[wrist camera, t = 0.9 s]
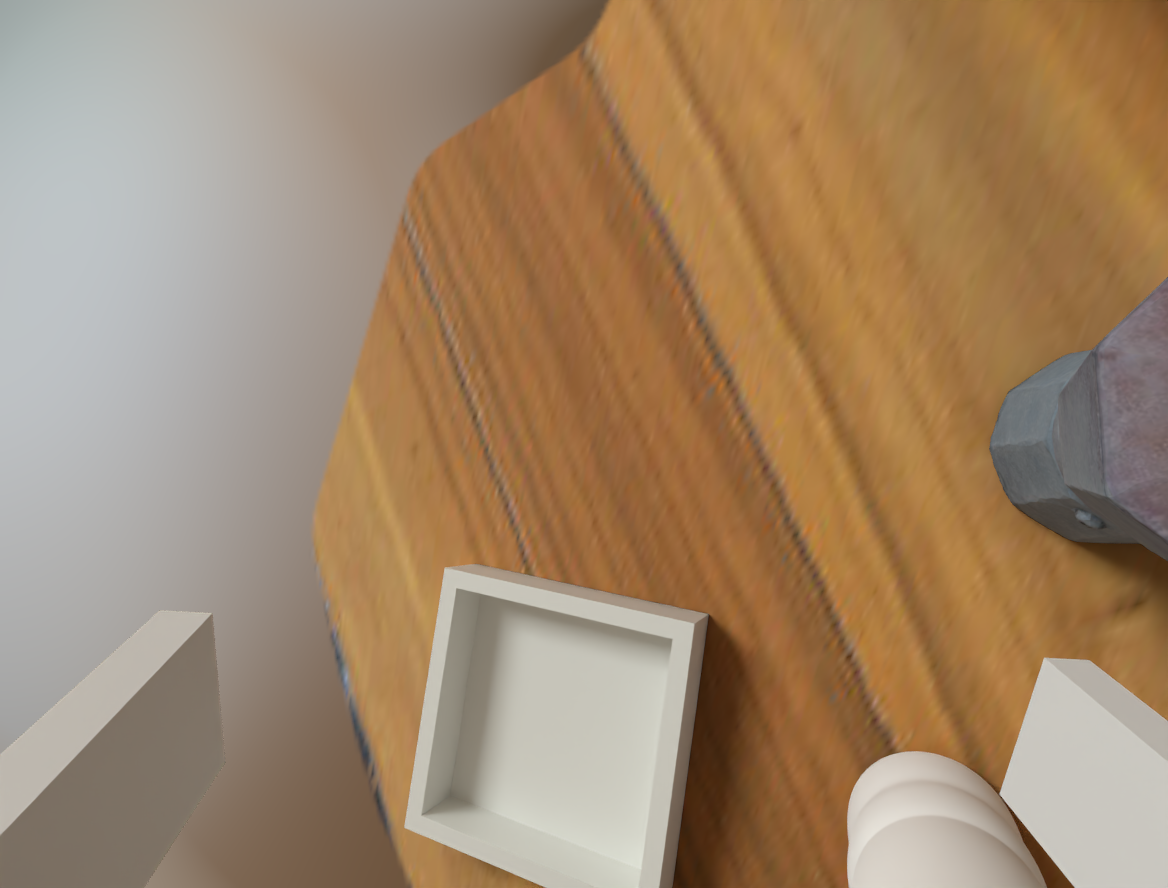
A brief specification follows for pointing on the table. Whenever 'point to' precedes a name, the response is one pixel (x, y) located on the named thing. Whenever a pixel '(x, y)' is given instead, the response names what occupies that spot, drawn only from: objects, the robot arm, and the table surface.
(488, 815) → the white tray
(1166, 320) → the moka pot
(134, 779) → the robot arm
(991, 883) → the water bottle
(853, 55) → the table surface
